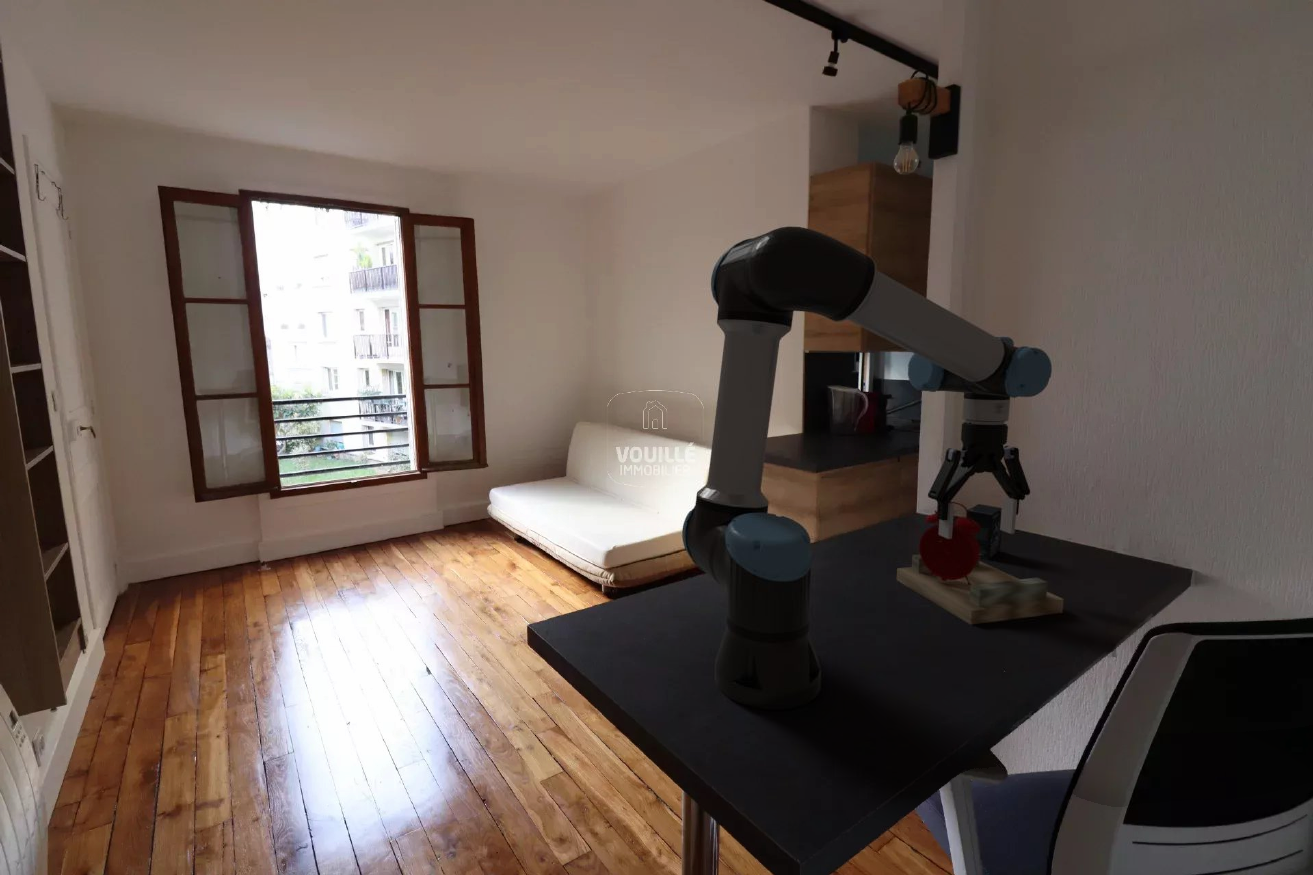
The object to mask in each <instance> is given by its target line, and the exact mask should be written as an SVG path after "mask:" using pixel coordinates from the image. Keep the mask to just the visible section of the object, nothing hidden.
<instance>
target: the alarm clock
mask: <svg viewBox="0 0 1313 875" xmlns="http://www.w3.org/2000/svg"><path fill="white" fill-rule="evenodd" d="M950 503H952V504H954V505H955V504H956V505H959V506H960V507H962V508H964V510H965V511H966V513H967V518H966V516H960V517H958V518H957V519H956V520H955V518H953V521H955V524H953V529H952V539H947V538H945V537H943V536H940V535H938V534H939V524H937V525H933V526H931V527H930V528H928V529H926V530H925V531H924V532H923V534H922V535H921V537H920V540H919V546H918V547H919V548H918V550H919V554H920V556H921V558H922V561H923V563H924V564H925V566H926V567H927V568H928V569H929V570H930V571H931V575H933V574H935V575H937V576H938V577H941V578H942V579H941V580H942V581H947V580H957V579H961V578H963V577H966V579H967V581H968V584H969V585H970V584H971V583H970V582H969V580H968V578H967V575H968V574H969V573H971V571H972V570H973V568H974V567H975V565H976V564H977V562H978V559H979V560H980V558H979V554H980V550H979V545H978V543H977V540H976V539H975V537H974V536H973V535H972V534H971V533H974V534H976V533H979V531H980V526H979V524H978V523H977V522H975V521H974V520H972V519H973V518H971V519H969V518H968V511H967V510H968V508H967V507H966V506H965V505H964V504H962V503H959V502H955V501H951V502H950ZM966 513H965V514H966ZM925 522H926V524H934V523H939V519H938V518H937V510H934V513H933V514H929V515H928V516H927V517H926V518H925Z"/></svg>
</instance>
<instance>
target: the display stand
mask: <svg viewBox="0 0 1313 875" xmlns="http://www.w3.org/2000/svg"><path fill="white" fill-rule="evenodd" d="M980 559H981V558H980V554H979V559H978V562H977V564H976V565H975V567H974V568H973V570H972V571H971V573H969V574H968V575H967V578H968V580H969V582H970V583H971V584H970V585H969V584H968V581H967V579H966V577H963V578H961V579H957V580H947V581H942V580H941V579H942V578H941V577H938V576H937V575H935V574H933V575H931V571H930V570H929V569H928V568H927V567H926V566H925V564H924V563H923V561H922V558H921V556H920V553H919V554H912V557H911V566H908V567H907V566H906V567H900V568H899V567H898V568H897V569H896V581H897V582H899V583H901V584H903V585H904V586H905V587H907V588H909V589H911V590H912V591H914V592H916V593H917V594H919V595H921V596H923V597H924V598H925V599H927V600H929V601H930V602H933V603H934V604H935V605H937V606H939V607H940V608H942V609H944V610H946V611H947V612H949V613H950V614H952V615H954V616H955V617H957V618H959V619H961V620H962V621H963V622H965V623H967V624H969V625H970V626H972V625H979V624H980V625H981V624H985V623H994V622H1001V621H1009V620H1015V619H1016V620H1017V619H1024V618H1031V617H1040V616H1046V615H1054V614H1062V613H1063V611H1064V600H1065V599H1064V598H1062V597H1060V596H1057V595H1056V594H1053V593H1051V592H1049V591H1048V581H1046V580H1044V579H1041V578H1040V577H1032V578H1031V577H1030V578H1022V579H1020V578H1018V577H1015V576H1013V575H1011V574H1009V573H1006V572H1004V571H1003V570H1000V569H998V568H996V567H994V566H991V565H990V564H986V562H983V561H981V560H980Z"/></svg>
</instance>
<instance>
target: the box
mask: <svg viewBox="0 0 1313 875" xmlns="http://www.w3.org/2000/svg"><path fill="white" fill-rule="evenodd" d="M967 511H968V518H969V519H971V518H973V519H972V520H974V521H975V522H977V523H978V524H979V526H980V531H979V533H976V534H974V533H971V534H972V535H973V536H974V537H975V539H976V540H977V543H978V545H979V550H980V558H979V559H983V560H988V561H989V559H992V558H993V557H995V555H997V554H998V553H1000V552H1001V547H1002V546H1001V544H1002V532H1003V531H1002V530H1000V525H1001V512H1002V507H999V506H992V505H987V504H981V503H978V504H976V505H974V506H972V507H971V508H967ZM965 517H966V518H967V513H965Z"/></svg>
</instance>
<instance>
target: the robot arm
mask: <svg viewBox="0 0 1313 875" xmlns="http://www.w3.org/2000/svg"><path fill="white" fill-rule="evenodd" d="M877 268H878V267H877V263H876V262H875V260H874V259H873V258H872V257H870V256H868V255H866V254H865V253H863V252H861V251H859V250H858V249H856V248H854V247H852V246H850V245H848V244H846V243H844V242H842V241H841V240H838V239H836V238H835V237H832V236H830V235H827V234H825V233H822V232H820V231H816V230H814V229H811V228H806V227H803V226H792V225H791V226H781V227H778V228H776V229H773V230H770V231H768V232H766V233H764V234H761V235H758V236H755V237H753V238H747V239H744V240H741V241H739V242H738V243H735V244H733V245H732V246H731V247H730V248H728V250H726V251H724V252H723V254H722V255H721V256H720V257H719V258H718V260H717V262H716V264H715V266H713V270H712V274H711V278H710V289H711V293H712V294H711V295H712V297H713V300H714V301H715V303H716V304H717V308H718V309H717V317H716V324H717V326H718V327H719V328H720V329H721V331H722V332H723V334H724V341H723V349H722V355H721V356H722V359H721V366H720V373H719V375H720V376H719V384H718V391H717V399H716V400H717V401H716V406H715V407H716V409H715V418H714V425H713V433H712V434H713V435H712V443H711V452H710V459H709V467H708V468H709V469H708V476H707V477H708V478H707V482H706V484H705V485H704V486H703V487H701V488H700V489H699V490H697V492H696V498H695V504H694V507H693V508H692V509H691V510H689V512H688V513H687V515H686V516H685V518H684V522H683V526H682V533H681V534H682V535H681V536H682V537H681V538H682V544H683V546H684V549H685V551H686V553H687V554H688V557H690V559H691V561H692V562H693V563H694V564H695V566H697V568H698V569H699V570H700V571H701V572H704V573H705V574H706V575H708V576H709V577H710V578H712V580H713V581H715V582H716V583H717V584H718V585H719V586H721V588H723V590H725V591H726V626H725V631H724V634H723V636H722V637H723V638H722V639H721V642H720V645H719V649H718V650H717V655H716V657H715V660H714V682H715V685H716V687H717V689H719V691H720V692H721V693H722V694H724V695H725V696H727V698H729V699H730V700H732V701H735V702H737V703H739V704H741V705H744V706H747V707H751V708H754V709H755V708H756V709H762V710H774V711H777V710H779V711H781V710H788V709H789V710H790V709H794V708H798V707H802V706H805V705H807V704H808V703H811V701H813V700H815V699H816V697H818V695H819V693H820V692H821V688H822V670H821V666H820V663H819V659H818V657H817V653H816V650H815V647H814V645H813V641H812V638H811V634H810V617H811V616H810V615H811V614H810V613H811V611H810V610H811V608H810V607H811V581H812V580H811V579H812V574H811V573H812V564H813V554H812V544H811V537H810V535H809V532H808V530H807V529H806V528H805V527H804V526H803V525H802V524H800V522H798V521H796V520H794V519H792V518H789V517H788V516H784V515H782V516H778V515H777V514H775V513H770V512H769V511H768V510H769V505H770V502H769V500H768V498H767V497H766V496H765V495H764V493H763V492H762V489H761V488H762V481H763V474H764V473H763V472H764V465H765V458H766V449H767V444H768V435H769V428H770V420H771V410H772V405H773V403H772V402H773V396H774V389H775V381H776V372H777V365H778V356H779V349H780V342H781V340H782V338H784V337H785V336H786V335H787V334H789V333H790V332H791V331H792V326H793V318H794V312H804V313H805V312H807V313H812V314H816V315H819V316H822V317H824V318H827V319H829V320H831V321H833V322H836V323H841V322H844V321H846V320H847V321H849V322H851V323H852V324H853V323H854V324H855V325H857V326H860V327H861V328H863V329H866V330H867V331H869V332H871V333H872V334H875V335H877V336H879V337H881V338H883V339H884V340H887V341H889V342H891V343H892V344H895V345H897V346H899V347H901V348H903V349H904V350H907V351H909V352H911V353H913V354H912V355H911V357H910V359H909V361H908V365H907V367H908V368H907V376H908V377H907V378H908V380H909V382H910V384H911V386H912V387H914V388H915V389H916V390H918V391H921V392H929V393H936V392H952V393H953V392H956V393H963V401H962V414H961V418H962V420H965V421H964V422H963V423H961V429H960V430H961V431H960V441H961V442H962V447H961V449H960V450H959V449H954V448H949V447H948V448H947V449H946V452H945V456H944V461H943V463H942V465H941V467H940V468H939V471H938V473H937V475H936V477H935V479H934V481H933V483H932V485H931V487H930V489H929V491H928V494H927V498H930V499H932V500H934V501H936V502H937V507H936V511H937V518H938V519H939V522H938V525H939V534H938V535H940V536H943V537H945V538H947V539H952V529H953V525H954V520H953V519H954V516H955V515H954V514H955V513H954V512H955V509H954V508H955V503H950V502H952V501H953V499H954V498H955V496H956V495H957V494H958V493H959V492H960V490H961V489H962V488H963V486H964V485H965V484H966V482H967V481H968V480H969V479H970V478H971V477H973V476H975V474H982V473H991V475H992V476H993V477H994V478H995V480H996V481H997V482H998V484H999V486H1000V487H1001V489H1002V490H1003V491H1004V493H1005V495H1007V496H1002V500H1001V502H1002V503H1001V508H1002V512H1001V525H1000V530H1002V532H1006V533H1007V534H1010V535H1013V534H1015V532H1016V520H1017V519H1016V518H1017V516H1018V514H1019V510H1020V501H1024V500H1025V499H1026V496H1029V495H1030V494H1031V489H1030V486H1029V483H1028V481H1027V478H1026V475H1025V472H1024V469H1023V467H1022V464H1021V460H1020V450H1019V448H1018V447H1015V446H1009V445H1006V444H1007V442H1008V432H1009V431H1008V430H1009V426H1008V424H1007V423H1005V422H1008V421H1009V418H1010V408H1011V398H1015V399H1016V398H1017V397H1018V398H1019V397H1020V398H1031V397H1035V396H1037V395H1039V394H1041V393H1042V392H1044V391H1045V389H1046V388H1047V386H1048V385H1049V381H1050V379H1051V377H1052V372H1053V367H1052V366H1053V365H1052V361H1051V359H1050V357H1049V355H1048V354H1047V353H1046V352H1045V351H1044V350H1043V349H1040V348H1038V347H1029V346H1025V345H1024V346H1019V347H1018V346H1015V345H1014V344H1015V343H1014V340H1013V339H1012V338H1011V337H1008V336H995V335H993V334H991V333H989V332H988V331H986V330H984V329H982V328H980V327H979V326H977V325H976V324H973V323H971V322H969V321H968V320H966V319H964V318H963V317H961V316H959V315H957V314H956V313H954V312H952V311H950V310H948V309H946V308H945V307H943V306H942V305H939V304H938V303H936V302H934V301H933V300H930V299H928V298H927V297H925V296H923V295H921V294H920V293H918V292H916V291H914V290H913V289H910V288H909V287H907V286H906V285H903V284H902V283H900V282H898V281H896V280H895V279H893V278H891V277H889V276H887V275H886V274H884V273H882V272H880V271H879V270H877ZM1004 445H1005V446H1004ZM1002 460H1003V461H1004V463H1003V462H1002ZM1004 464H1005V465H1004ZM768 512H769V513H768Z"/></svg>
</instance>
